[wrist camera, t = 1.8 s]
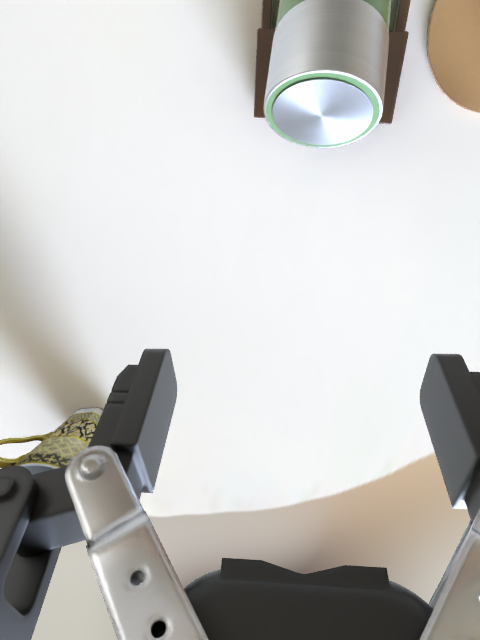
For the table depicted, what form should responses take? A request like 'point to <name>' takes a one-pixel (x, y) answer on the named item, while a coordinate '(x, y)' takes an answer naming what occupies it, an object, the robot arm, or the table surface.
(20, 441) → the ceramic cup
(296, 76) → the green can
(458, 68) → the cork coaster
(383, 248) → the table surface
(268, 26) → the walnut rest
